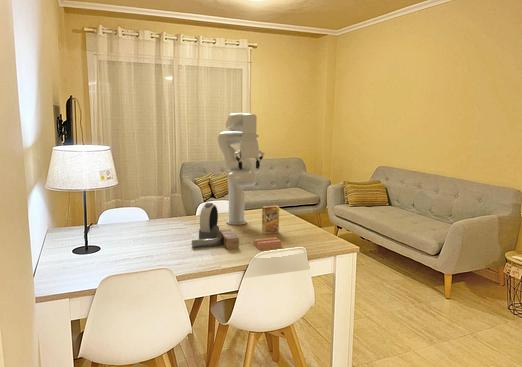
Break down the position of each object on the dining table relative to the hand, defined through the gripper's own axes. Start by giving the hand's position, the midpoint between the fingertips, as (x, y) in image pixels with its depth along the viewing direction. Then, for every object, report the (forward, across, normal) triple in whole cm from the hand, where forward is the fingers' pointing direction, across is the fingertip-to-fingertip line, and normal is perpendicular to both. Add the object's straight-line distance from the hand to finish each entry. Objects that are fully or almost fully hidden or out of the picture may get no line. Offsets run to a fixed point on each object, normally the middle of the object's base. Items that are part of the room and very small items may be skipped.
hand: (249, 168), depth 217 cm
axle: (+35, +24, +14) cm, 45 cm away
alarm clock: (+37, +22, -4) cm, 43 cm away
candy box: (+37, -12, +2) cm, 39 cm away
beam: (+37, +16, +14) cm, 42 cm away
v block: (+37, -2, +23) cm, 43 cm away
